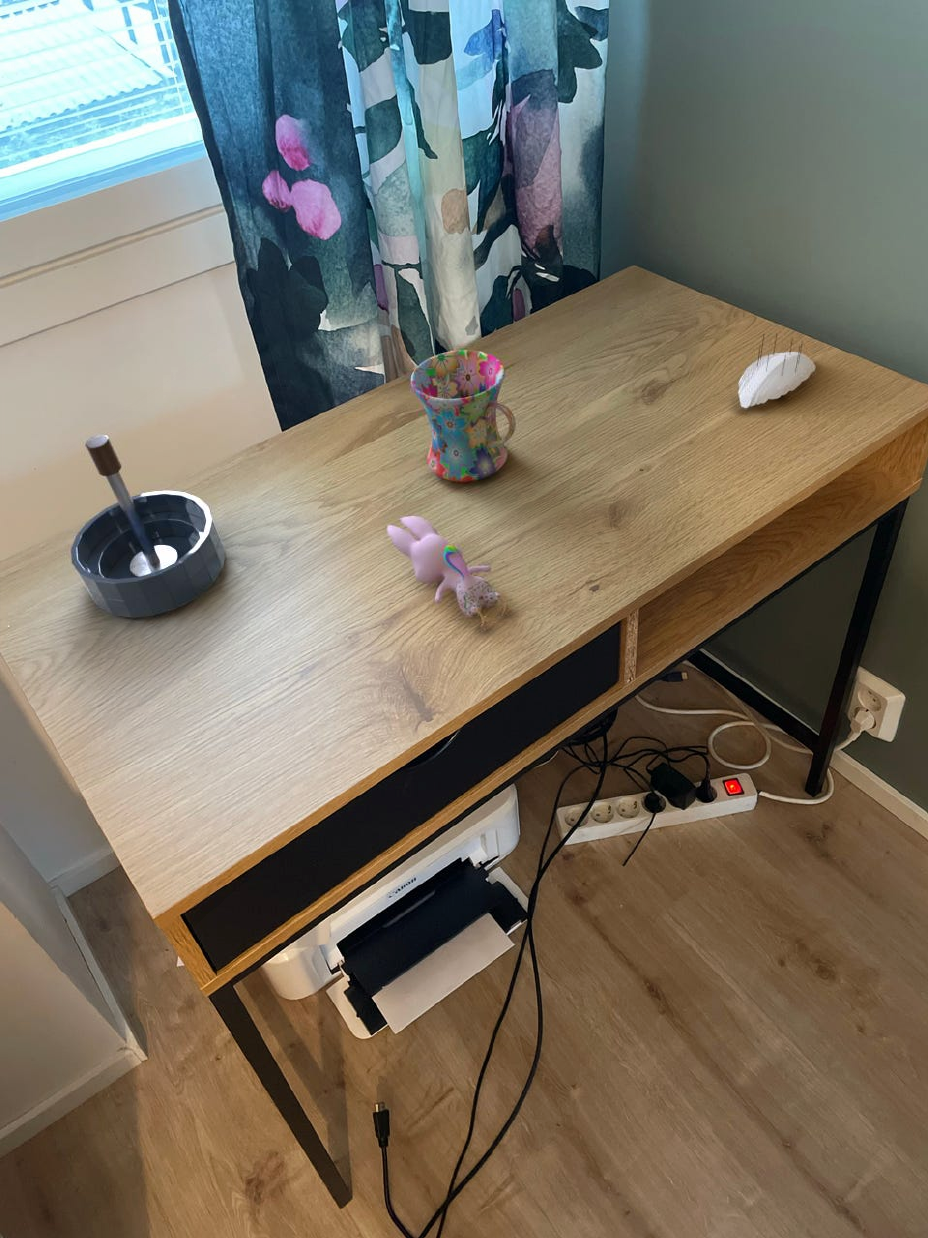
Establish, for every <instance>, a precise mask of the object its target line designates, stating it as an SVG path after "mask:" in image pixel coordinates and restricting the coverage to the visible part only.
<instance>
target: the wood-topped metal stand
mask: <svg viewBox="0 0 928 1238" xmlns="http://www.w3.org/2000/svg"><path fill="white" fill-rule="evenodd" d="M85 448H86V450H87V452H88V454H89V456H90V458H91V460H92V462H93V464H94V466H95V468H96V471H97V472H98V474H99V475H100V476H103V477H106V480H107V482H108V484H109V486H110V488H111V490H112V493H113V495H114V497H115V499H116V501H117V502H118V503H119V505H120V507H121V509H122V511H123V513H124V515H125V517H126V519H127V522H128V524H129V526H130V528H131V530H132V532H133V534H134V536H135V538H136V540H137V542H138V544H139V546H140V549H141V552H139V553H138V554H137V555H136V556H135V557H134V558H133V559H132V561H131V563H130V570H131V572H132V574H133V576H134V577H140V576H143V575H147V574H150V573H153V572H156V571H159V570H161V569H163V568H165V567H167V566H169V565H171V564H173V563H175V562H176V561H178V560H180V558H179V556H178V554H177V552H176V550H175V549H174V548H172V547H170V546H166V545H157V546H154V545H153V543H152V541H151V539H150V537H149V535H148V532H147V530H146V528H145V526H144V524H143V522H142V520H141V517H140V515H139V513H138V511H137V509H136V507H135V505H134V502H133V500H132V498H131V497H132V496H131V494H130V492H129V489H128V487H127V485H126V483H125V481H124V479H123V476H122V475H121V473H120V471H121V469H122V463H121V461H120V459H119V457H118V455H117V452H116V450H115V448H114V446H113V444H112V442H111V440H110V438H109V436H108V435H106V434H97V435H94V436H92V437H90V438H88V439H87V441H85Z"/></svg>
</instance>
